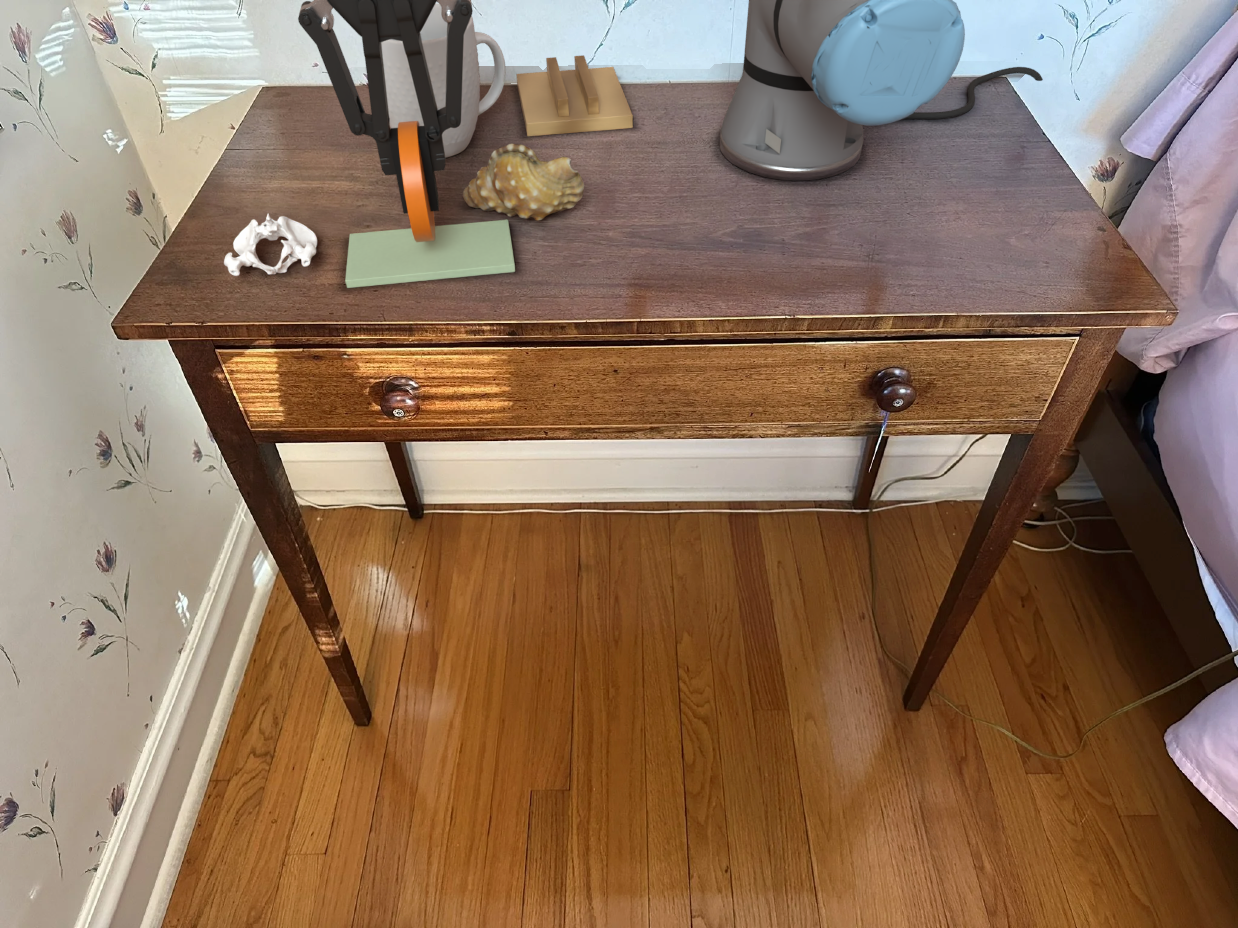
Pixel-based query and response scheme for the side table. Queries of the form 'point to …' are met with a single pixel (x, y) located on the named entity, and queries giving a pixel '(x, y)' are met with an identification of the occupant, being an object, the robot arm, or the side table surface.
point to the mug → (441, 79)
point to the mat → (429, 254)
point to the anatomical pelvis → (296, 247)
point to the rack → (572, 99)
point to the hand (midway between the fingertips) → (421, 204)
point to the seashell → (524, 184)
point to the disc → (415, 183)
